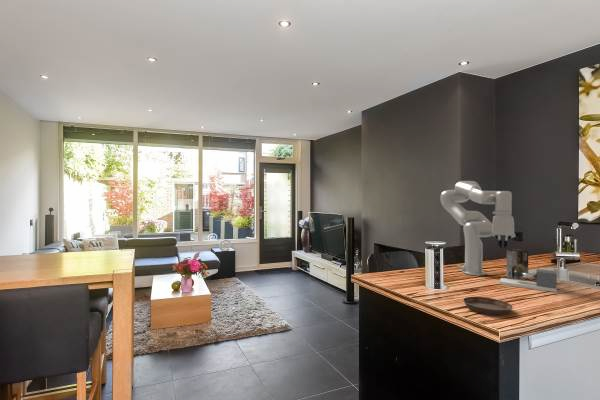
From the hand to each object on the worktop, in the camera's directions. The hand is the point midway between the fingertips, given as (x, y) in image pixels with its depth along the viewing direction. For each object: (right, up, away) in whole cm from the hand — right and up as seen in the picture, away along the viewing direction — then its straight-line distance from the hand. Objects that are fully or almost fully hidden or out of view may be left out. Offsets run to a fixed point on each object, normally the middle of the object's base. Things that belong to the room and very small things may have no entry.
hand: (502, 247), depth 179 cm
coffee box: (+16, -19, +12) cm, 28 cm away
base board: (+9, -19, -6) cm, 22 cm away
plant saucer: (-33, -20, -43) cm, 57 cm away
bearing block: (+15, -18, -11) cm, 26 cm away
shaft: (+9, -16, -6) cm, 20 cm away
